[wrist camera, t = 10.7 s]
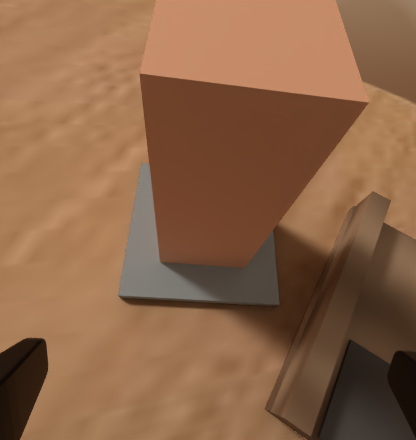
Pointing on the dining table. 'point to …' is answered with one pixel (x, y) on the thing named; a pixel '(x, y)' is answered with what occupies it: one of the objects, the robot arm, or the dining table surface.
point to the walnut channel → (353, 335)
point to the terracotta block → (240, 117)
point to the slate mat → (190, 266)
